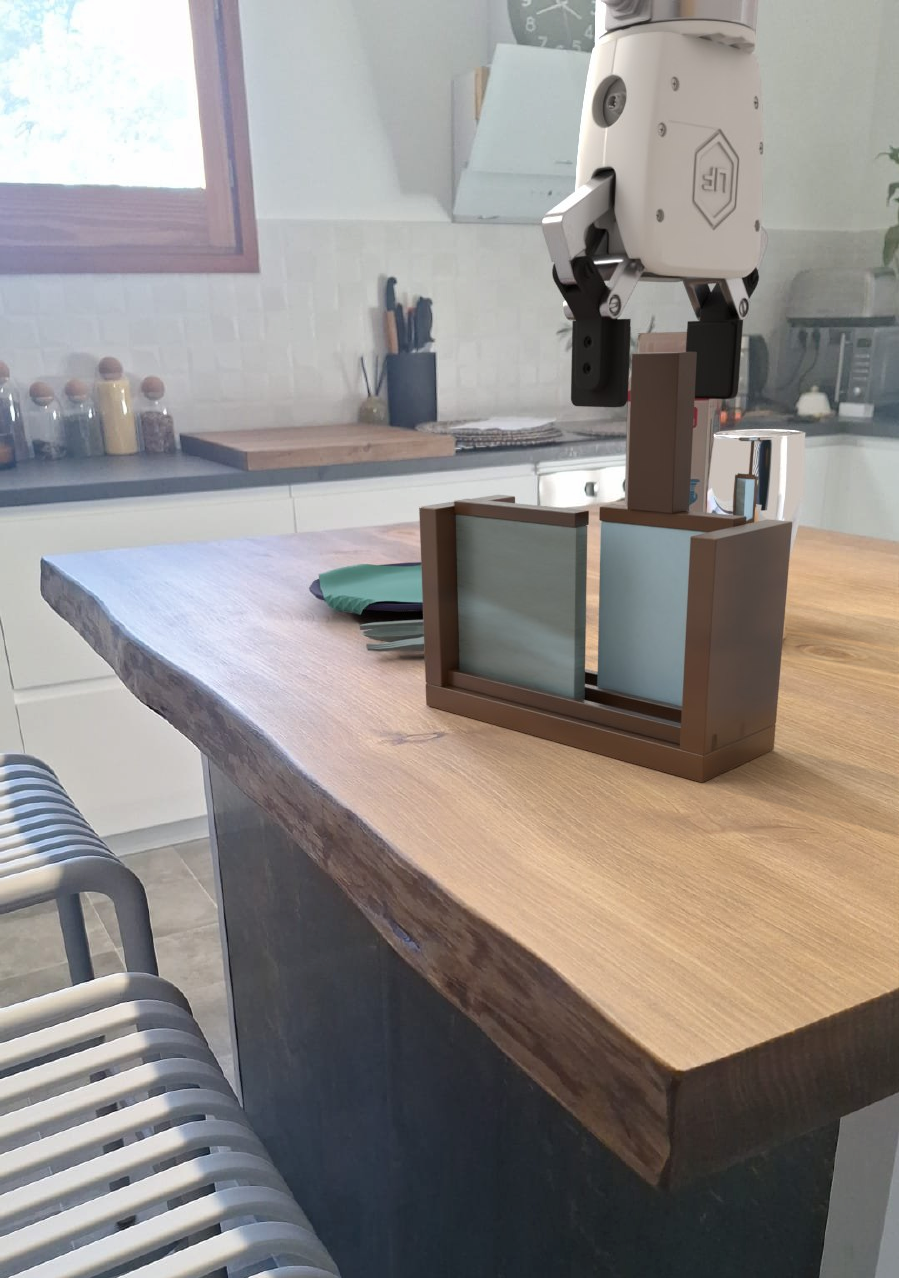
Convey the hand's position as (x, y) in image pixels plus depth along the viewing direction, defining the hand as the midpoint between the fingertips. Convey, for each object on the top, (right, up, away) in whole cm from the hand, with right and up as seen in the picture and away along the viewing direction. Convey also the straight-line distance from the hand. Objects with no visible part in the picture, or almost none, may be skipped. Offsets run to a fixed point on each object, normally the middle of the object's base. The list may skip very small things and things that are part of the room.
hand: (657, 402), depth 60 cm
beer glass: (+12, -9, +28) cm, 31 cm away
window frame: (-3, -17, +8) cm, 19 cm away
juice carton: (+8, -3, +42) cm, 43 cm away
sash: (+1, -15, +6) cm, 16 cm away
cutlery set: (-13, -5, +38) cm, 41 cm away
